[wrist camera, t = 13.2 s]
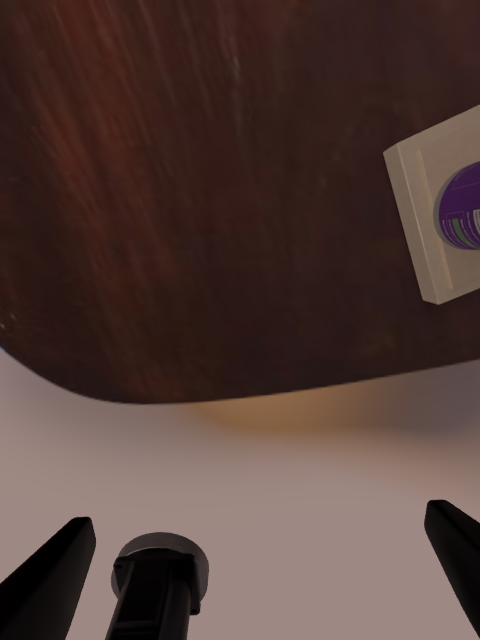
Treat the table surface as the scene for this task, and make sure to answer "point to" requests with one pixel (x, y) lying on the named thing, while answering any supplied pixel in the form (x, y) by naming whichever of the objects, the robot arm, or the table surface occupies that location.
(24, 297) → the table surface
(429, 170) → the tile
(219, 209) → the table surface
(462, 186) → the container
